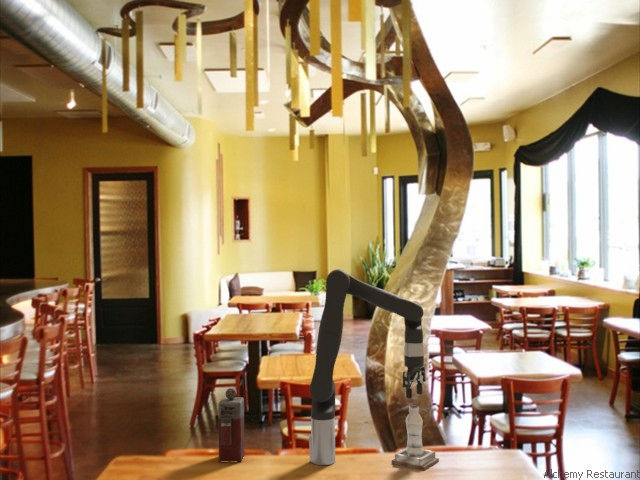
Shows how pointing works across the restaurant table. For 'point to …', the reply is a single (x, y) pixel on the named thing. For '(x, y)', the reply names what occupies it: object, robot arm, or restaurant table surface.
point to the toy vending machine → (231, 427)
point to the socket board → (416, 460)
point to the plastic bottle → (414, 433)
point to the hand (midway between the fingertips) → (414, 396)
